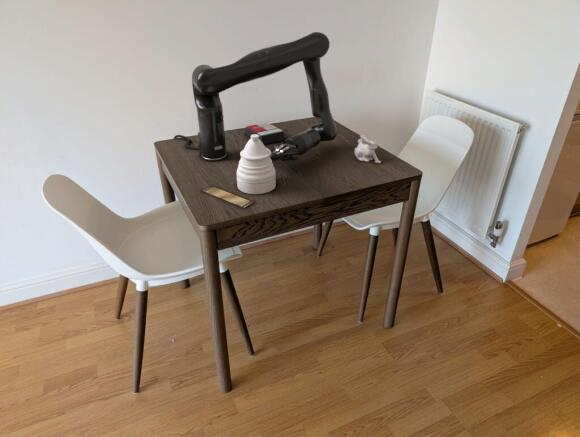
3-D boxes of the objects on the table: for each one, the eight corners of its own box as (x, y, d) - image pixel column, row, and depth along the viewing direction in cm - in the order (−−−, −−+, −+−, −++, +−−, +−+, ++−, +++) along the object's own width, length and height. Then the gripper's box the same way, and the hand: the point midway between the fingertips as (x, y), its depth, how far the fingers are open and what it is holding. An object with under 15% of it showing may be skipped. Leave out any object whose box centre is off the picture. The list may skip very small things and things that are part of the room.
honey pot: (278, 192, 138) (277, 139, 129) (238, 195, 136) (234, 142, 127) (273, 175, 149) (272, 125, 139) (236, 178, 147) (232, 127, 138)
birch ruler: (203, 191, 139) (203, 190, 138) (212, 186, 141) (212, 186, 141) (244, 208, 129) (244, 207, 129) (253, 203, 132) (252, 202, 132)
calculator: (267, 121, 187) (284, 129, 176) (267, 130, 189) (284, 139, 178) (244, 125, 182) (260, 134, 171) (245, 135, 184) (261, 144, 173)
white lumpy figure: (382, 162, 158) (385, 138, 153) (366, 167, 155) (369, 142, 150) (361, 152, 167) (363, 128, 162) (345, 156, 163) (347, 132, 158)
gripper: (284, 131, 156) (252, 145, 144) (313, 138, 149) (283, 154, 138) (284, 150, 160) (253, 165, 148) (313, 158, 153) (283, 175, 141)
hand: (268, 160), depth 143 cm, fingers closed
